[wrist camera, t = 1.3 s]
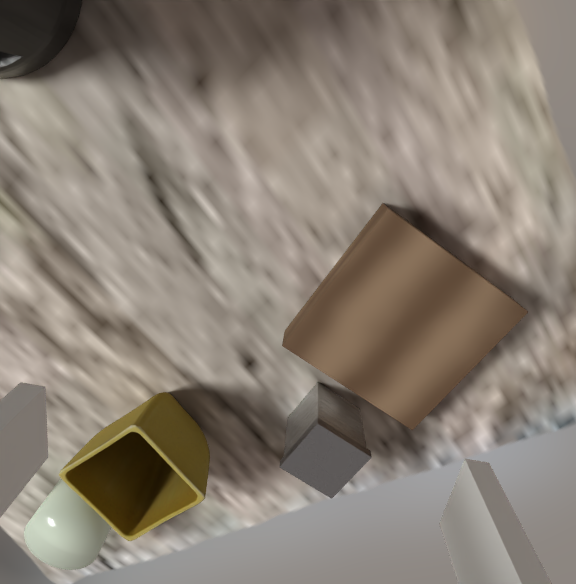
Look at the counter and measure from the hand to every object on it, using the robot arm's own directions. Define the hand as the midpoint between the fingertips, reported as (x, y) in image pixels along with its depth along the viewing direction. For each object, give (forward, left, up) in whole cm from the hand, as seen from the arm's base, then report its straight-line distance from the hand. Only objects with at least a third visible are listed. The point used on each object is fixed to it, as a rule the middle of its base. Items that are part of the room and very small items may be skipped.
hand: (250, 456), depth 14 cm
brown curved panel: (+11, +1, -25) cm, 27 cm away
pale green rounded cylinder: (-2, -33, -25) cm, 42 cm away
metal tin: (+12, -11, -25) cm, 30 cm away
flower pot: (0, -21, -25) cm, 33 cm away
